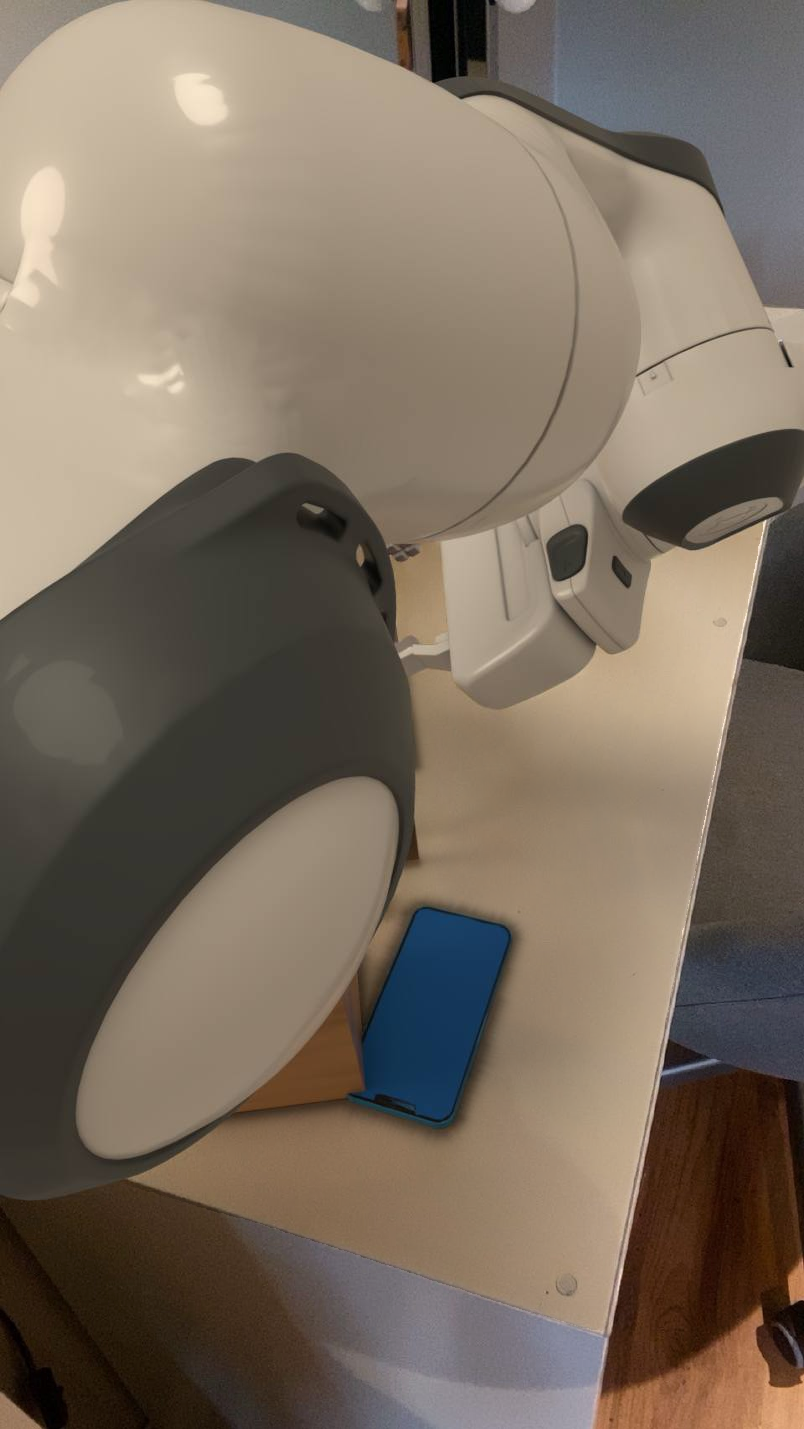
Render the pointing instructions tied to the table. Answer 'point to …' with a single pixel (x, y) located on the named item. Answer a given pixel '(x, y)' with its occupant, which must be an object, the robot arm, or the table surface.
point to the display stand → (321, 1062)
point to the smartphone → (431, 1015)
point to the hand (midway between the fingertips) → (393, 603)
